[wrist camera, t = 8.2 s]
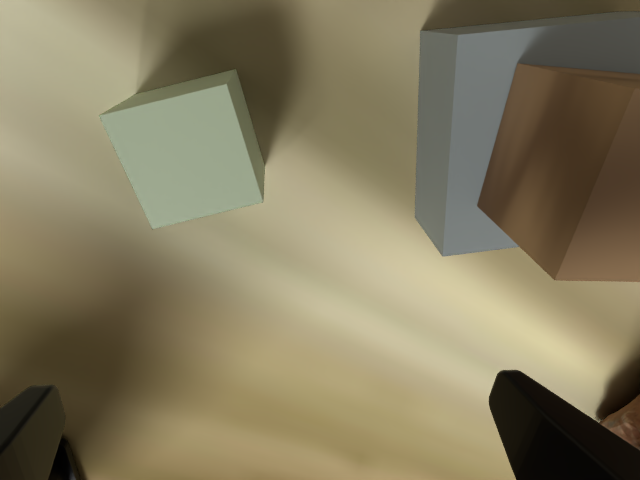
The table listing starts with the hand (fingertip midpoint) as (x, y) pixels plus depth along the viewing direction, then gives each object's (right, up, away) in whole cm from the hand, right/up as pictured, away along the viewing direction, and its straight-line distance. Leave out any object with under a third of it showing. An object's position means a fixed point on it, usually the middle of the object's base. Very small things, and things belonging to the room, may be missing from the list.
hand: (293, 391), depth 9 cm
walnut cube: (+9, +7, +6) cm, 13 cm away
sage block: (-4, +8, +9) cm, 12 cm away
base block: (+9, +8, +10) cm, 16 cm away
